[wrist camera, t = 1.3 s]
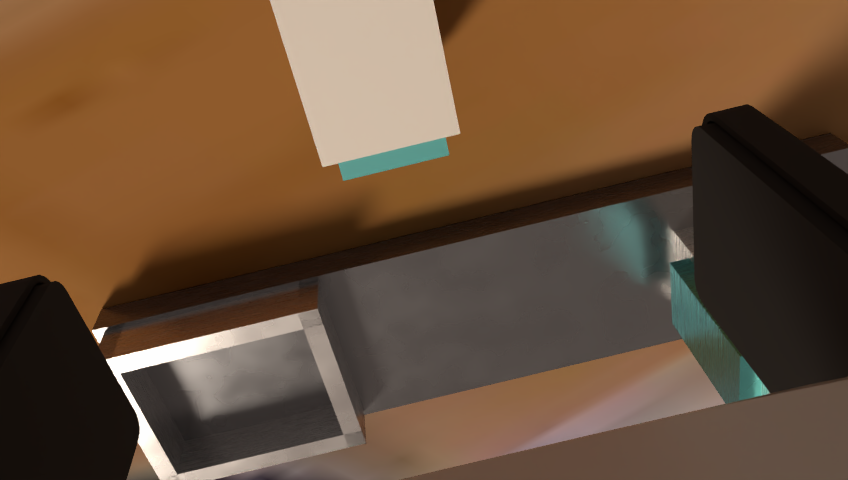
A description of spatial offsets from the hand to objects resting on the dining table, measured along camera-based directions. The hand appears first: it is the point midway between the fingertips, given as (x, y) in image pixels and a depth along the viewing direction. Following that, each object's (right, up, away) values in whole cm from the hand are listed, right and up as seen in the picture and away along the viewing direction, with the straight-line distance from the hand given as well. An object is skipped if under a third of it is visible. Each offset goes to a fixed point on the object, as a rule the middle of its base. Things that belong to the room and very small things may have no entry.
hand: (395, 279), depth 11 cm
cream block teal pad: (-2, +9, +16) cm, 18 cm away
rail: (+3, -2, +23) cm, 23 cm away
